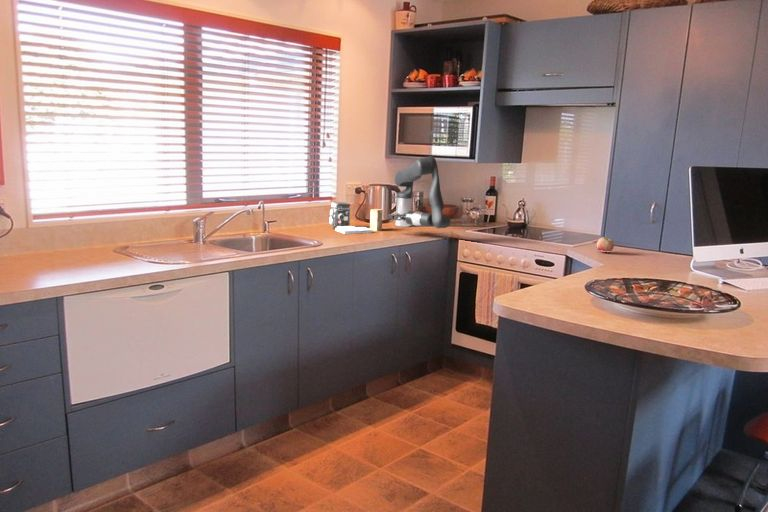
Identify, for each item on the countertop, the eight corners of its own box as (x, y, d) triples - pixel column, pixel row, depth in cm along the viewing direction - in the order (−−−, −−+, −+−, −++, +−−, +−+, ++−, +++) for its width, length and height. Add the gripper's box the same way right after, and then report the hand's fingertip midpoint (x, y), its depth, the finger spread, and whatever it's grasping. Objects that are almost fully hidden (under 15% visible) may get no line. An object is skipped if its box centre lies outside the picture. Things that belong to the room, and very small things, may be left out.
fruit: (606, 254, 309) (608, 239, 308) (592, 252, 316) (594, 236, 314) (615, 253, 314) (617, 238, 313) (602, 250, 320) (603, 235, 319)
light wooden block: (375, 229, 359) (375, 208, 357) (381, 230, 356) (382, 209, 354) (369, 230, 355) (370, 209, 353) (376, 231, 352) (377, 210, 350)
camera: (327, 227, 358) (327, 201, 355) (344, 226, 362) (344, 201, 360) (333, 230, 349) (334, 203, 346) (350, 229, 353) (351, 203, 350)
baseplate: (363, 229, 356) (363, 225, 355) (373, 232, 346) (373, 228, 345) (335, 230, 347) (335, 226, 347) (344, 233, 337) (344, 229, 336)
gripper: (423, 210, 342) (399, 208, 352) (409, 212, 331) (384, 209, 341) (422, 224, 344) (399, 221, 353) (408, 226, 332) (384, 223, 342)
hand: (392, 215), depth 347 cm, fingers open, 8 cm apart
